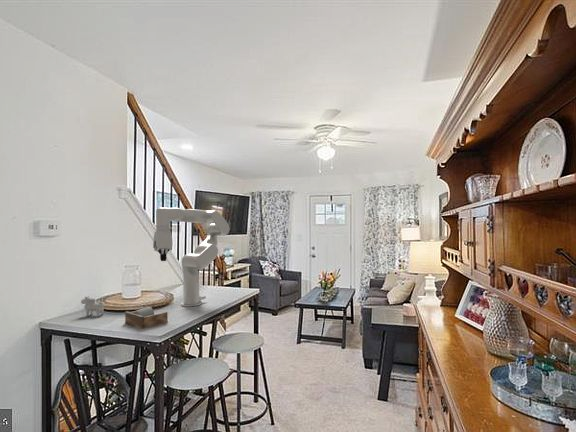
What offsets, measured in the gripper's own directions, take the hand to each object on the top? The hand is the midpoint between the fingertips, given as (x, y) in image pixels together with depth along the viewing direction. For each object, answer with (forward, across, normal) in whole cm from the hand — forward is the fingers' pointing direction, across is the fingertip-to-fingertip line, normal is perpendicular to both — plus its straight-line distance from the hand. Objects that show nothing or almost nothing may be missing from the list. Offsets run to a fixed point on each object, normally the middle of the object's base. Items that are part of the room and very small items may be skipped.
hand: (163, 260), depth 194 cm
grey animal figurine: (+29, +28, -26) cm, 48 cm away
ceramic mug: (+29, +18, +14) cm, 38 cm away
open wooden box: (+29, +17, +13) cm, 36 cm away
